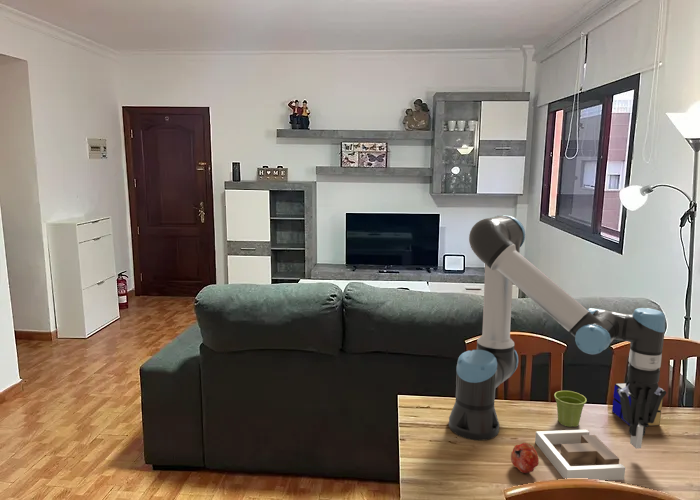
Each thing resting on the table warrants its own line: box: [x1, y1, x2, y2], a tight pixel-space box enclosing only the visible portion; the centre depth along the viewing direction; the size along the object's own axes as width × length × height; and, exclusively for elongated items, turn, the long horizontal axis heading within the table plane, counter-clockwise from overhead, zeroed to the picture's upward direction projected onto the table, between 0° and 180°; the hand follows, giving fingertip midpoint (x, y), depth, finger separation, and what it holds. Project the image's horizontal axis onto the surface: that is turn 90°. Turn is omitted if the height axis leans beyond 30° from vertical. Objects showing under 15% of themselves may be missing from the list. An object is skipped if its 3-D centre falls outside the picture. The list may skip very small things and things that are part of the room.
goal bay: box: [534, 428, 626, 481], centre depth 142 cm, size 16×19×4 cm
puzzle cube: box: [611, 382, 664, 427], centre depth 165 cm, size 10×10×10 cm
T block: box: [559, 434, 620, 466], centre depth 142 cm, size 12×12×4 cm
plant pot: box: [553, 390, 587, 428], centre depth 162 cm, size 9×9×9 cm
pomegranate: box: [510, 442, 540, 474], centre depth 138 cm, size 7×7×10 cm
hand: (635, 445), depth 143 cm, fingers closed
